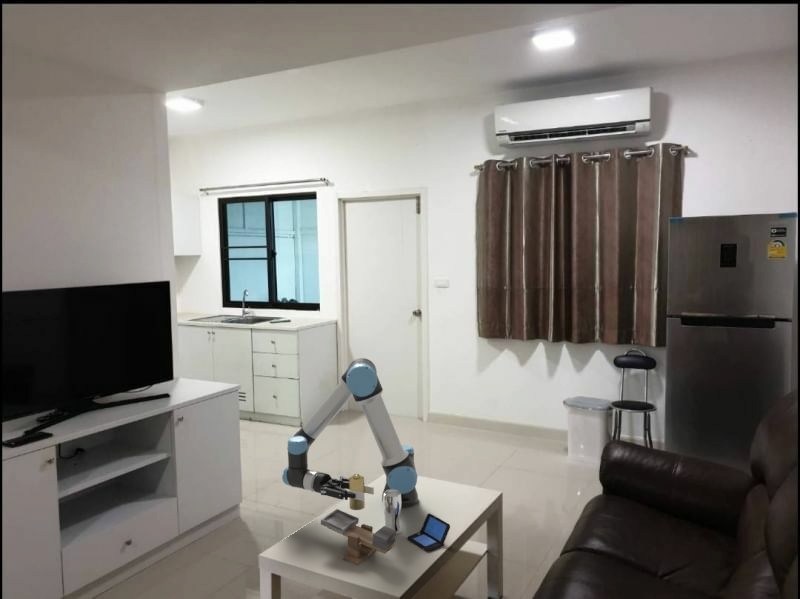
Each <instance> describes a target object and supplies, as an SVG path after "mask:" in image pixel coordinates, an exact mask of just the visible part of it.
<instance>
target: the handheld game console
mask: <svg viewBox="0 0 800 599" xmlns="http://www.w3.org/2000/svg"><path fill="white" fill-rule="evenodd" d="M450 528H451V525H450V524H449V523H447V522H446V521H445V520H443V519H442V518H440V517H437V516H435V515H434V514H432V513H430V512H429V513H428V514H427V515H426V517H425V519H424V522H423V524H422V527H421V529H420V530H419V531H418V532H415V533H412V534H410V535H408V536H407V540H408V541H409V542H411V543H412V544H414V545H415V546H417V547H418V546H419V548H420V549H422V550H423V549H424V550H423V551H425V552H426V553H431V552H433V550H434V551H435V549H436V550H438V549H437V548H439V549H440V547H441V548H443V547H444V545H445V544H444V543H445V541H446V539H447V537H448V534H449V531H450ZM442 546H443V547H442Z"/></svg>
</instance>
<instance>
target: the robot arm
mask: <svg viewBox="0 0 800 599" xmlns="http://www.w3.org/2000/svg"><path fill="white" fill-rule="evenodd" d="M383 391H384V389H383V387H382V384H381V382H380V379H379V377H378V374H377V367H376V365H375V364H374V362H373V361H371V360H370V359H368V358H365V357H360V358H357V359H355V360H353V361H352V362H350V365H348V367H347V369H346V370H345V372H344V373H343V374H342V375H341V376H340V382H339V383H338V384H337V385H336V386H335V388H334V389H333V390H332V391H331V392H330V394H329V395H328V396H327V397H326V398H325V399H324V401H323V402H322V403H321V404H320V405H319V406H318V408H316V410H315V411H314V412H313V414H312V415H311V416H310V417H309V418H308V420H307V421H306V422H305V423H304V424H303V426H302V427H301V428H300V429H299V430H297V431H296V433H295V434H294V435H293V437H291V438H288V441H287V447H286V448H287V461H288V462H287V463H288V466H286V467H285V468H284V470H283V471H282V472H283V474H282V476H281V477H282V478H281V479H282V481H283V483H284V485H287V486H289V487H291V488H298V489H302V490H306V491H310V492H312V493H313V492H315V493H317V494H320V495H321V496H327V497H331V498H334V499H339V500H345V501H348V500H349V498H353V499H357V500H361V501H364V500H365V501H366V499H365V494H368V495H374V494H375V489H374V488H375V487H374V486H372V485H367V484H364V493H362V492H357V491H353V490H349V477H345V476H344V475H343V476H342V475H340V476H339V478H332V476H331V475H330V474H329V473H326V472H321V471H317V470H312V469H309V468H308V466H309V464H308V453H309V450H310V447H311V446H312V444H313V443H314V442H315V441H316V440H317V438H318V437H319V436H320V435H321V434H322V433H323V431H324V430H325V429H326V427H328V426H329V424H330V423H331V422H332V421H333V420H334V419H335V417H336V416H337V415H338V414H339V413H340V411H341V410H342V409H343V408H344V407H345V406H346V404H347V403H348V402H349V401H350V400H351V398H353V399H354V402H355V403H358V404H360V406H361V408H362V410H363V413H364V415H365V418H366V420H367V422H368V426H369V428H370V430H371V432H372V435H373V437H374V440H375V442H376V445H377V447H378V449H379V452H380V454H381V456H382V460H381V462H380V464H381V467H382V470H383V472H384V474H385V477H386V478H385V479H386V480H385V485H384V487H383V490H382V494H381V501H382V503H383V493H384V491H386V490H389V489H395V490H399V491H400V492H401V509H402V508H403V509H404V508H409V507H412V505H413V506H414V504H415V505H416V504H417V503H418V502H419V494H418V492H417V487H416V485H417V484H418V474H417V470H416V465H415V449H414V448H413V447H412V446H409V445H402V443H401V441H400V438H399V436H398V434H397V431H396V429H395V427H394V424H393V422H392V420H391V419H392V418H391V417H390V414H389V411H388V409H387V406H386V405H385V401H384V399H383V397H382V393H383ZM417 501H418V502H417Z"/></svg>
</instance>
